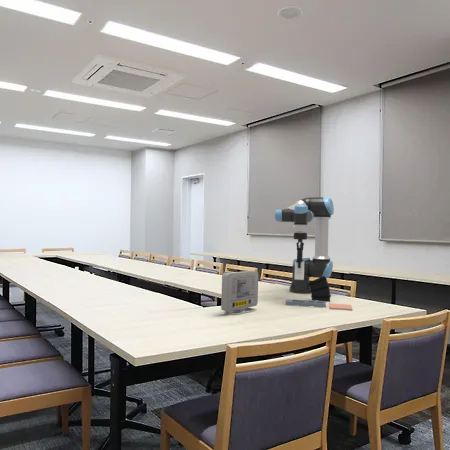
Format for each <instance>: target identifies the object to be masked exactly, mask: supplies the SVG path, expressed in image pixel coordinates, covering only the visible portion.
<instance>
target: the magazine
mask: <svg viewBox="0 0 450 450" xmlns="http://www.w3.org/2000/svg"><path fill="white" fill-rule="evenodd" d="M327 279H328V278H327V277H325V276H323V277H321V278H316V279H313V280H310V282H308V286H310V289H311V291H310V292H311V293H310V294H311V296H310V298H311V301H316V300H318V301H322V302H327V301H329V302H331V296H332V295H331V289H330V285H329V282H328V280H327Z"/></svg>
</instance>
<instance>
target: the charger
mask: <svg viewBox="0 0 450 450" xmlns="http://www.w3.org/2000/svg"><path fill="white" fill-rule="evenodd" d="M295 279H298V280H304V261H302V274H297V262H296V261H295Z"/></svg>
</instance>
